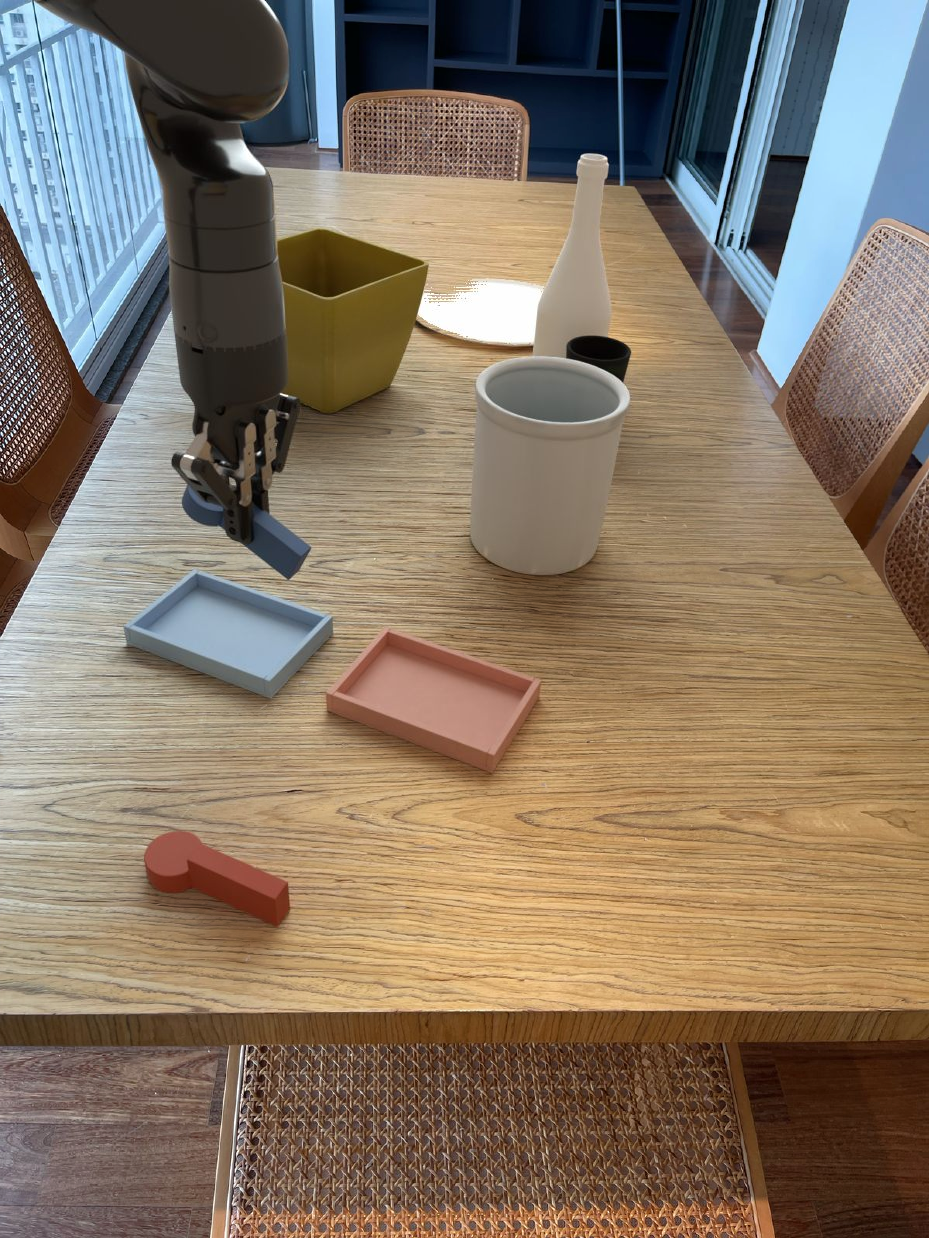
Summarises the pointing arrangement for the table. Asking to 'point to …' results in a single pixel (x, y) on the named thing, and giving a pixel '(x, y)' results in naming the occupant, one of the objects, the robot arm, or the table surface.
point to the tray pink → (435, 698)
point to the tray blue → (230, 632)
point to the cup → (600, 353)
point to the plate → (487, 312)
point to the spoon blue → (255, 534)
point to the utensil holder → (543, 461)
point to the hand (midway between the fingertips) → (248, 534)
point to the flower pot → (345, 315)
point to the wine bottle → (577, 271)
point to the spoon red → (215, 876)
